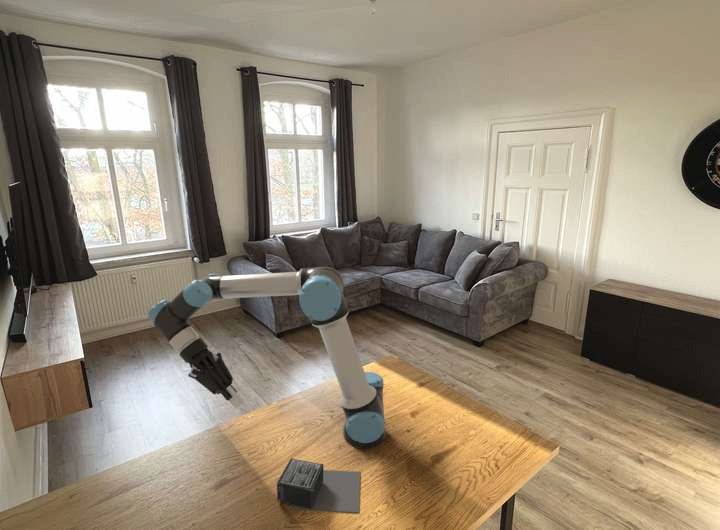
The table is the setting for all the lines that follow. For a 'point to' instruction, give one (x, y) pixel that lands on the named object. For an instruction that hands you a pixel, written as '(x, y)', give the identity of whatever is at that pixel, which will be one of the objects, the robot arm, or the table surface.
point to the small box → (300, 483)
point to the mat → (336, 493)
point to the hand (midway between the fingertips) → (239, 405)
